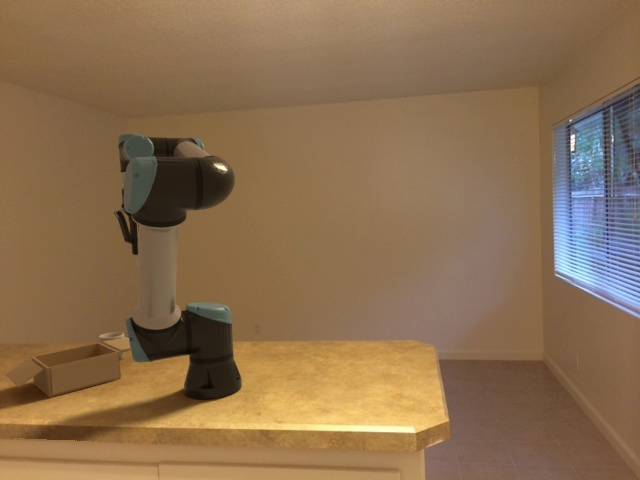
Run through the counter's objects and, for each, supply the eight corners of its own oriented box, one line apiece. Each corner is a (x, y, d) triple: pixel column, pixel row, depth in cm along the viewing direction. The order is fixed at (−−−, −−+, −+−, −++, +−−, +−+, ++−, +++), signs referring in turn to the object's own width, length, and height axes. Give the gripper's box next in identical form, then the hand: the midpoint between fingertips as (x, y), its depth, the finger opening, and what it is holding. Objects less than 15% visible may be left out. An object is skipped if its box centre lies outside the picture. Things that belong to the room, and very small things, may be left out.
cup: (138, 354, 170) (136, 331, 169) (126, 361, 162) (125, 337, 161) (108, 354, 171) (106, 332, 170) (95, 362, 163) (93, 338, 162)
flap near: (42, 368, 131) (17, 386, 127) (43, 369, 132) (18, 387, 128) (28, 357, 142) (4, 374, 138) (29, 359, 142) (5, 375, 138)
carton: (121, 379, 145) (119, 352, 144) (50, 398, 132) (48, 368, 131) (100, 366, 157) (98, 342, 157) (33, 383, 144) (30, 356, 144)
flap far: (121, 351, 146) (143, 347, 150) (121, 349, 146) (143, 345, 150) (102, 343, 156) (124, 339, 161) (102, 341, 156) (124, 337, 161)
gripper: (150, 187, 155) (155, 262, 157) (108, 187, 146) (113, 267, 148) (161, 186, 150) (166, 263, 151) (118, 186, 141) (123, 268, 142)
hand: (140, 265), depth 150 cm, fingers closed
